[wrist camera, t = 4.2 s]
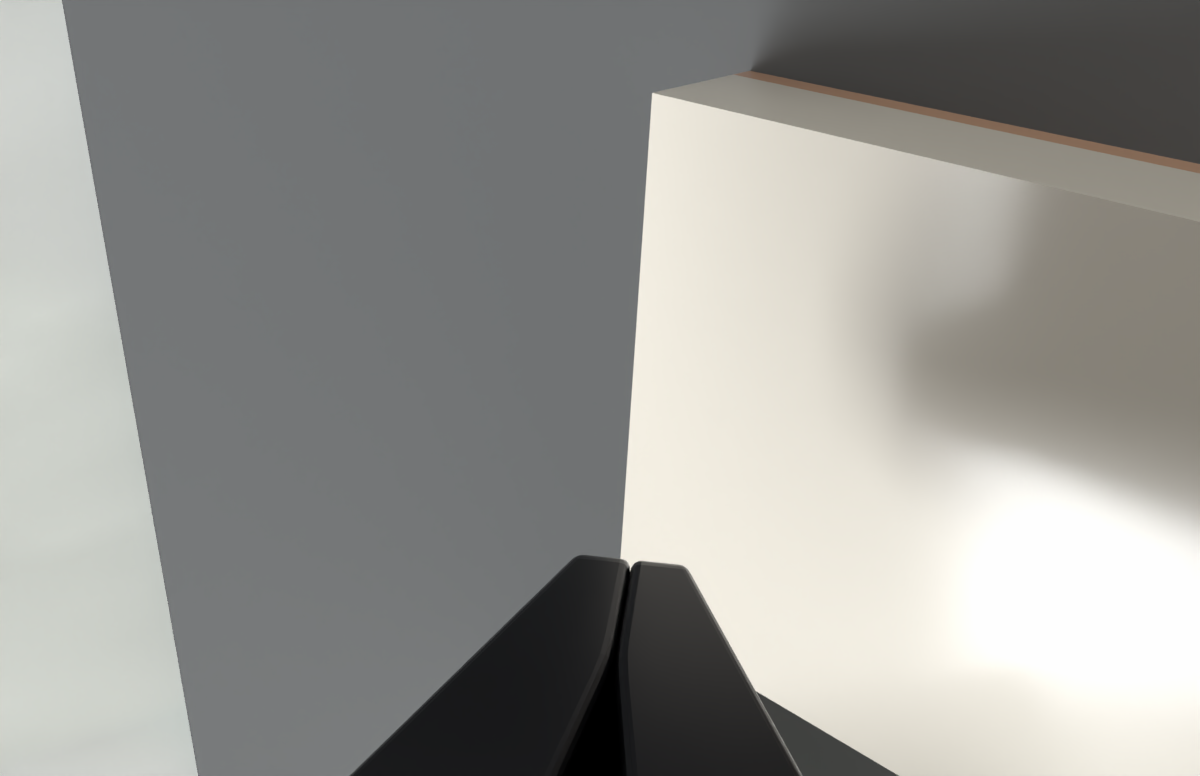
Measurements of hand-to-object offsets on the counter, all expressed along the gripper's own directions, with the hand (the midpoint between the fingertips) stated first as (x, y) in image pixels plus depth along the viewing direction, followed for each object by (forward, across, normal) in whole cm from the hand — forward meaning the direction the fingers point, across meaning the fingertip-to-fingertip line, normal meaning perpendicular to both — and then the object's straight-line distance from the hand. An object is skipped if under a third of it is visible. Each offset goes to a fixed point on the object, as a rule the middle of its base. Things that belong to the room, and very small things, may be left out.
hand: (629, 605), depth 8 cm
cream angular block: (+4, 0, 0) cm, 4 cm away
